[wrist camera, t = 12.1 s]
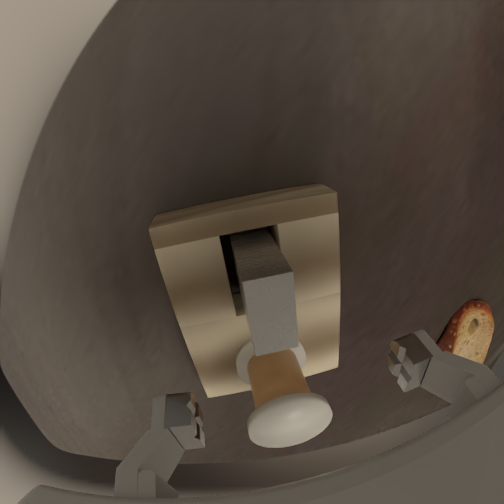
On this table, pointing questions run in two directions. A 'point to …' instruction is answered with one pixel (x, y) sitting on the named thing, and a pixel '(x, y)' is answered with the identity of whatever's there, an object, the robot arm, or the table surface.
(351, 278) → the table surface
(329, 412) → the bobbin
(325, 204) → the slot board
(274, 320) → the metal tab
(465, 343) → the slice of bread
